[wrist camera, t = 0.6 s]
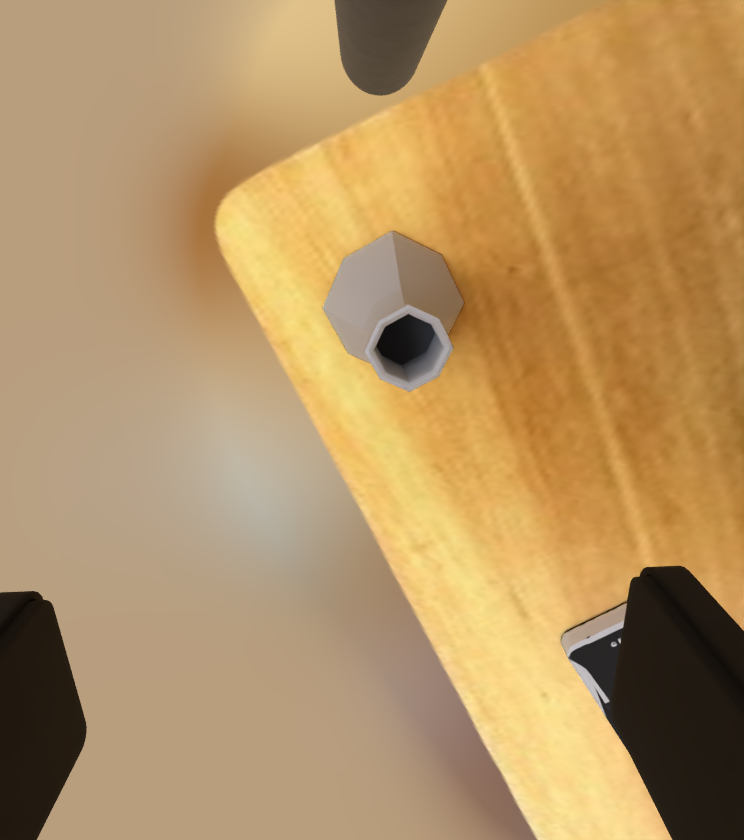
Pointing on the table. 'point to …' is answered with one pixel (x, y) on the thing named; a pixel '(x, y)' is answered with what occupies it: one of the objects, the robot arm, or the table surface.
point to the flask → (395, 309)
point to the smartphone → (597, 655)
